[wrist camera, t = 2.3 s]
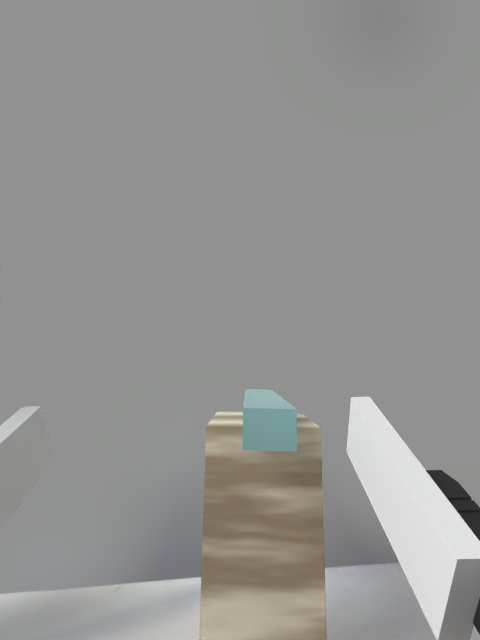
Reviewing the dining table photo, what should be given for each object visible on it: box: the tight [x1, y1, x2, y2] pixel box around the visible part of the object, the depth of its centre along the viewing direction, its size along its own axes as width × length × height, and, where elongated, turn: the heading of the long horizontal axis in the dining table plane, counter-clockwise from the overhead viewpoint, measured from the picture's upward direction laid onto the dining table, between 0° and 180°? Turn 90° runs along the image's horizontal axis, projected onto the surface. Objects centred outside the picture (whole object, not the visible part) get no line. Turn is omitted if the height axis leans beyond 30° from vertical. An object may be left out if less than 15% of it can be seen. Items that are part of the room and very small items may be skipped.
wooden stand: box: [200, 412, 326, 640], centre depth 36 cm, size 12×12×30 cm
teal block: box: [242, 389, 297, 451], centre depth 36 cm, size 26×4×3 cm, turn 178°
